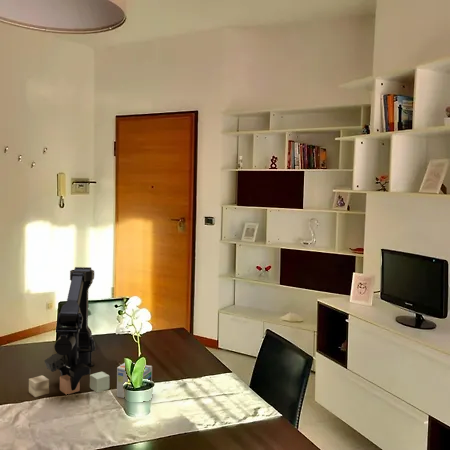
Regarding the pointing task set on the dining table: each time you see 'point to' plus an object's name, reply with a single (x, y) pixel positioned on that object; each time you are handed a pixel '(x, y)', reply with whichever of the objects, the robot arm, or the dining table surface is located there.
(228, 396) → the dining table surface
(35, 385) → the birch block
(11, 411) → the dining table surface
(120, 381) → the light bulb box
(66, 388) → the terracotta block
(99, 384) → the sage block
